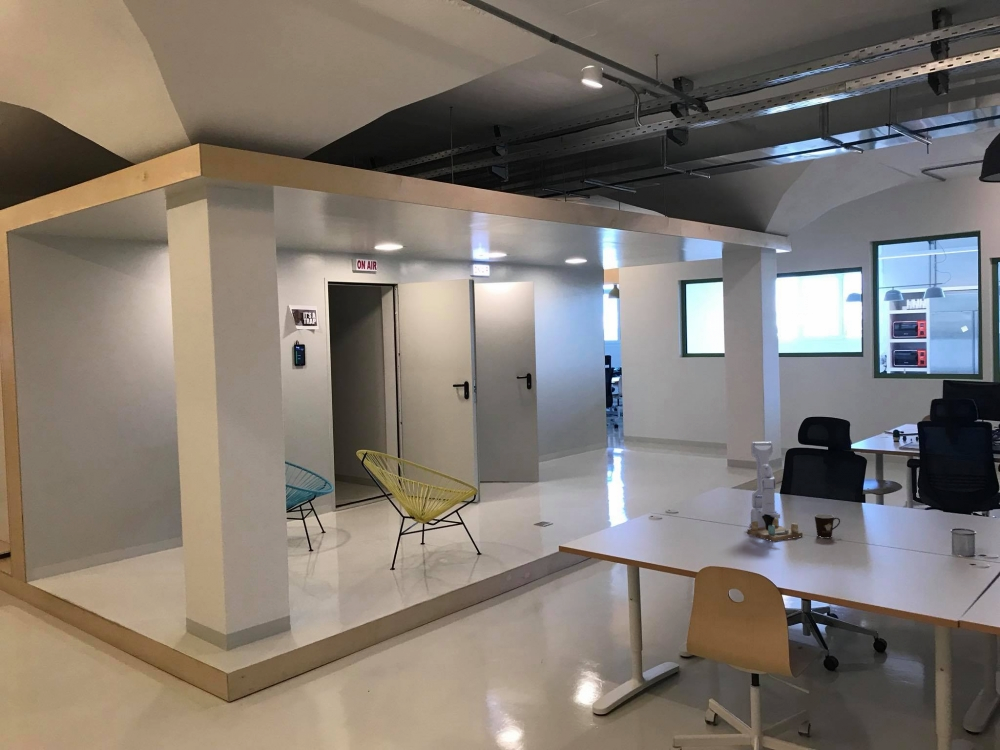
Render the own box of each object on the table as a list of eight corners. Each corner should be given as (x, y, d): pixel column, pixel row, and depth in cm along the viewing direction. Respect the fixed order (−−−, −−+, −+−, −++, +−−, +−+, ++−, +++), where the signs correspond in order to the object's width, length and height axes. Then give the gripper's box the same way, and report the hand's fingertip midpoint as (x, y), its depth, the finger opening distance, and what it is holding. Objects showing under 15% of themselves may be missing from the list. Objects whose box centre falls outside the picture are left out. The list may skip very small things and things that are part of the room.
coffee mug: (815, 538, 366) (815, 517, 365) (814, 533, 374) (813, 513, 374) (842, 539, 362) (841, 518, 362) (840, 535, 370) (839, 514, 370)
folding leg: (786, 531, 371) (786, 523, 370) (790, 533, 368) (789, 524, 368) (767, 533, 368) (766, 525, 368) (770, 535, 366) (770, 526, 365)
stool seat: (747, 533, 379) (747, 521, 379) (775, 528, 386) (775, 516, 386) (773, 541, 363) (773, 529, 362) (802, 536, 370) (802, 524, 369)
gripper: (785, 504, 363) (785, 532, 364) (765, 498, 377) (766, 525, 377) (772, 506, 361) (773, 534, 361) (753, 500, 374) (754, 527, 375)
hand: (768, 530), depth 369 cm, fingers closed, pressing on folding leg
